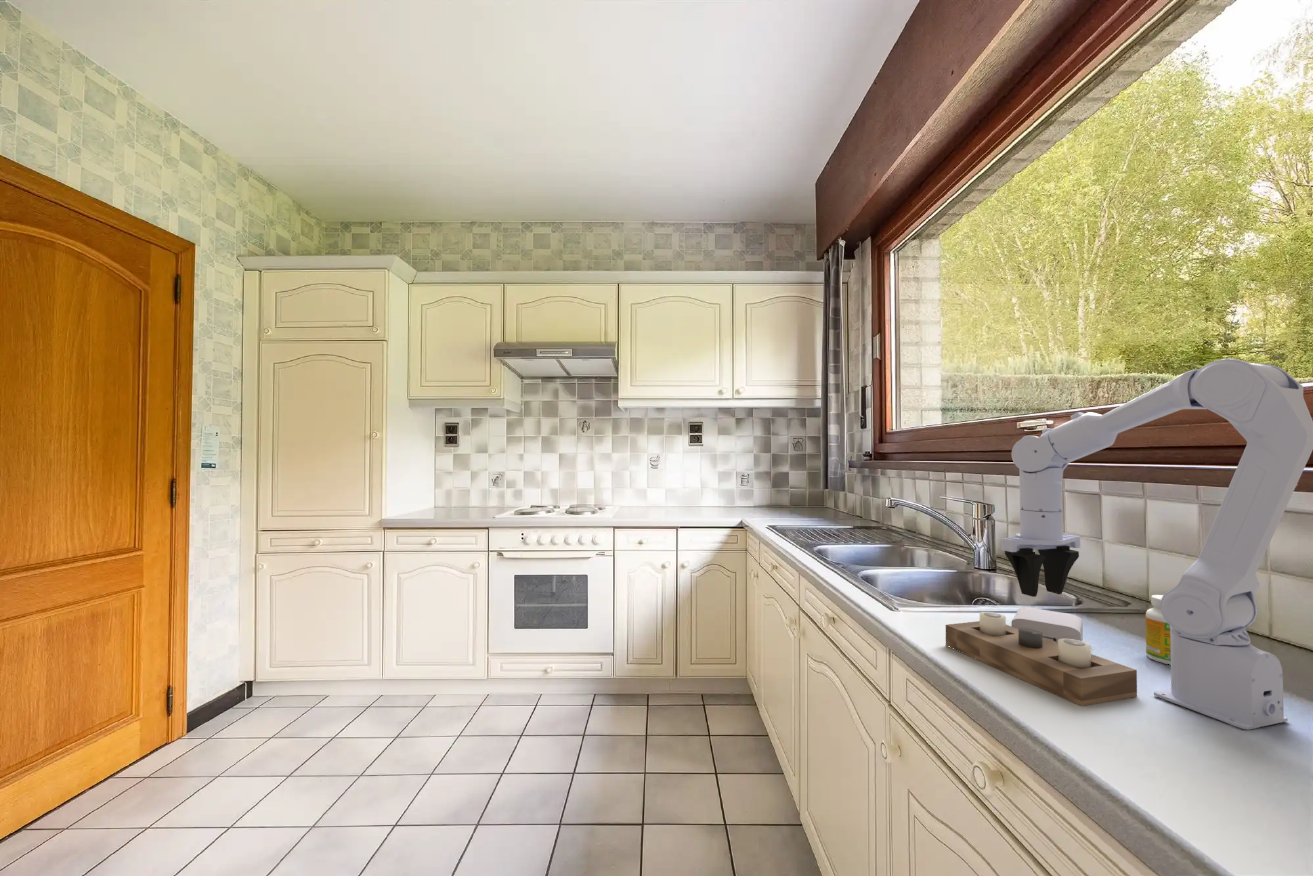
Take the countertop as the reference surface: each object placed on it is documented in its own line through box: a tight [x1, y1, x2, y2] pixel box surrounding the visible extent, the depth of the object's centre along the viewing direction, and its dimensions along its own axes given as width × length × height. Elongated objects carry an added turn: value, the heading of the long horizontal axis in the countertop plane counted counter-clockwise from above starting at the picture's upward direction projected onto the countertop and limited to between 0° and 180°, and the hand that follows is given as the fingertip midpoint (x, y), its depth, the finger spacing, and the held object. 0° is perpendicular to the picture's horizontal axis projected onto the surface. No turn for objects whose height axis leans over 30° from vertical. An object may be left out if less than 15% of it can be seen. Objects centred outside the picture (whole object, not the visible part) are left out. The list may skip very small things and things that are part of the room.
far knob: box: [979, 611, 1007, 637], centre depth 88 cm, size 4×4×3 cm
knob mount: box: [945, 620, 1138, 707], centre depth 81 cm, size 22×10×4 cm, turn 16°
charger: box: [1011, 606, 1084, 642], centre depth 94 cm, size 5×9×15 cm
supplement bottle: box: [1145, 594, 1171, 666], centre depth 85 cm, size 5×5×10 cm
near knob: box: [1058, 638, 1092, 669], centre depth 75 cm, size 4×4×3 cm
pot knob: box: [1018, 628, 1043, 648], centre depth 81 cm, size 3×3×2 cm
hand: (1041, 593), depth 88 cm, fingers open, 5 cm apart
